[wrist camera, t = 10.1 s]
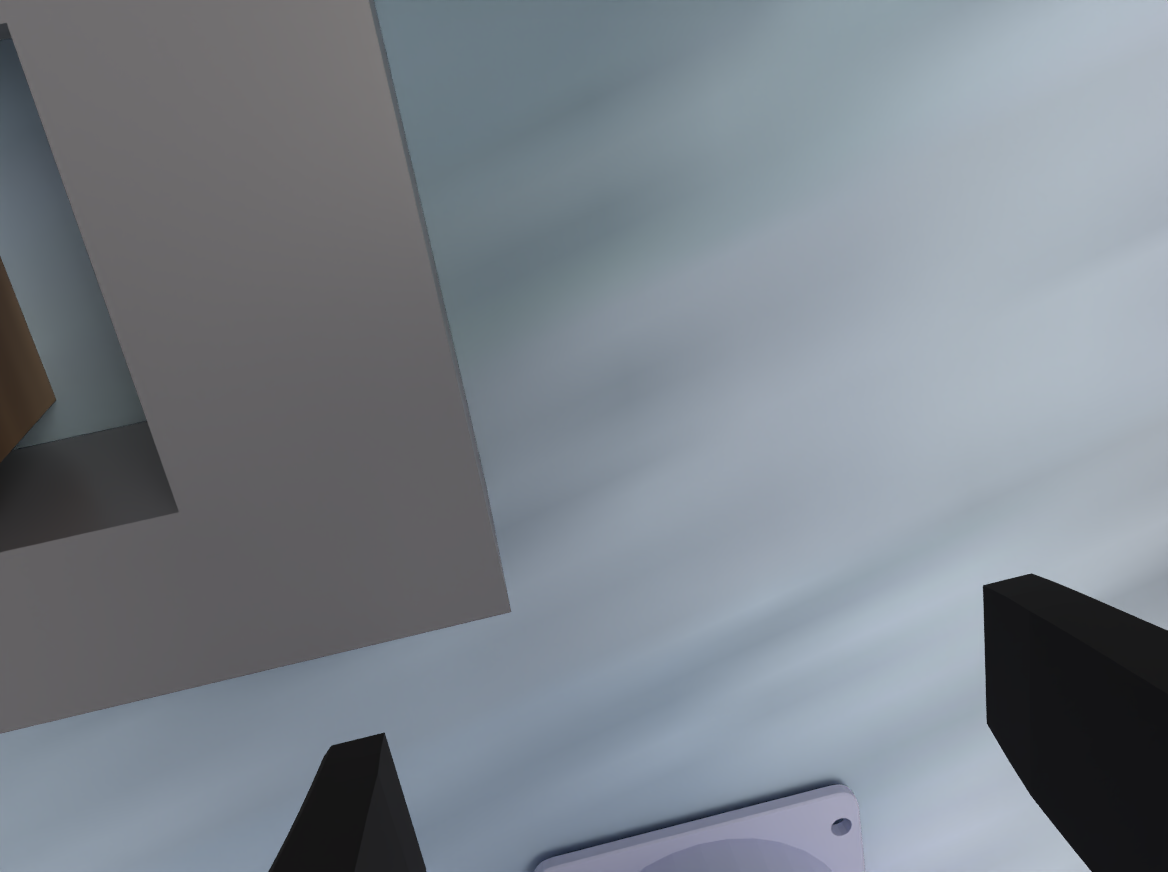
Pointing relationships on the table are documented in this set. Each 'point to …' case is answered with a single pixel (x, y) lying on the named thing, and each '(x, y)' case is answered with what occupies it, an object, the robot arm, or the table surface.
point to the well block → (239, 363)
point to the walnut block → (18, 372)
